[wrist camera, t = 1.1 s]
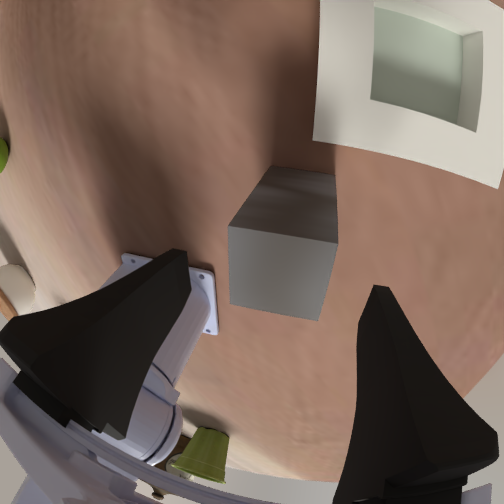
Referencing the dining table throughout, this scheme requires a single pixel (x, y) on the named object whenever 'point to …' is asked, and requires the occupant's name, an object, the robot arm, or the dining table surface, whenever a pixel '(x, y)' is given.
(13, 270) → the lidded jar
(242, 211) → the peg
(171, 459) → the wooden container
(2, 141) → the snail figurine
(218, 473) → the plant pot
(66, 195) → the dining table surface
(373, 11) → the socket block
